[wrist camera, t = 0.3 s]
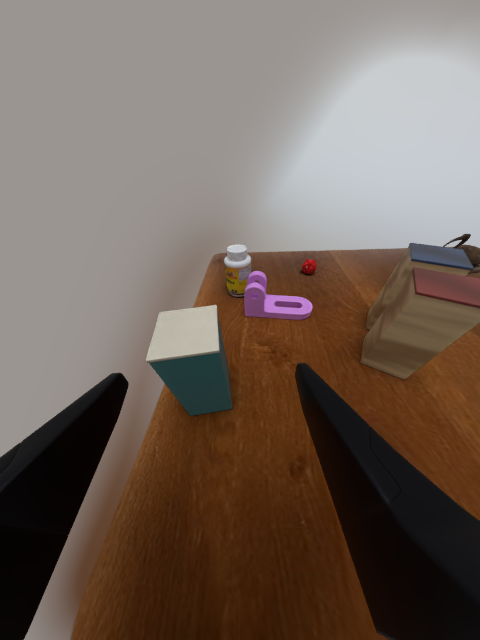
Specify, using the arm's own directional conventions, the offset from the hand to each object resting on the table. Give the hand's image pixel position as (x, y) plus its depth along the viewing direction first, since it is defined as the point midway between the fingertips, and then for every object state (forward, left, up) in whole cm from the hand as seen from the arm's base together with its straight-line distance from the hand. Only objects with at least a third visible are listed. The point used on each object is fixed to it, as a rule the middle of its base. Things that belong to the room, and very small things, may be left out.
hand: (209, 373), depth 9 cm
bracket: (+23, -9, -16) cm, 29 cm away
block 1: (+18, -27, -16) cm, 36 cm away
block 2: (+11, -23, -16) cm, 30 cm away
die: (+37, -19, -16) cm, 44 cm away
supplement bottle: (+30, -1, -16) cm, 34 cm away
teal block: (+6, +3, -16) cm, 17 cm away
